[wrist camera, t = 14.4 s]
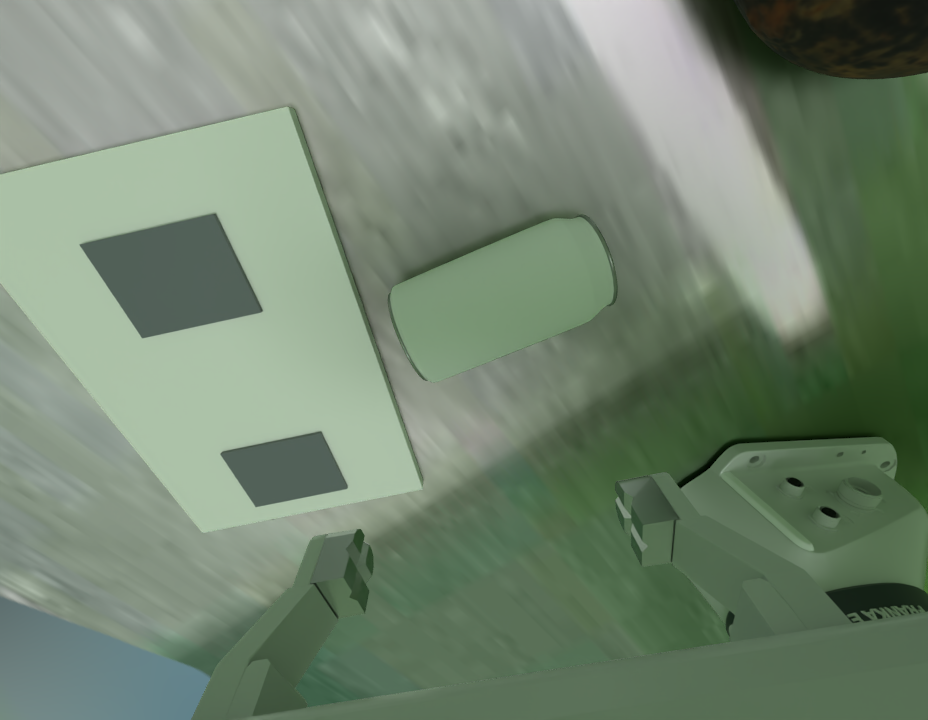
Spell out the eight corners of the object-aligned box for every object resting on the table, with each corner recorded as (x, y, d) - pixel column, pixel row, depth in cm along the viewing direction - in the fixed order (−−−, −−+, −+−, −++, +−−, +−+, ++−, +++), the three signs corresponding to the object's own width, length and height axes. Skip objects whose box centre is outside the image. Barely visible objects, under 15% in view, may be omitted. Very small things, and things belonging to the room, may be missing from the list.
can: (372, 279, 19) (588, 186, 18) (403, 296, 26) (563, 227, 25) (417, 391, 20) (635, 306, 18) (437, 380, 26) (599, 316, 25)
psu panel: (294, 109, 20) (285, 105, 19) (423, 480, 33) (422, 491, 31) (-52, 191, 20) (-81, 192, 19) (208, 523, 33) (200, 535, 32)
